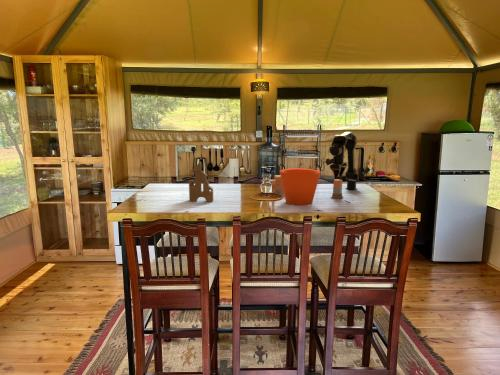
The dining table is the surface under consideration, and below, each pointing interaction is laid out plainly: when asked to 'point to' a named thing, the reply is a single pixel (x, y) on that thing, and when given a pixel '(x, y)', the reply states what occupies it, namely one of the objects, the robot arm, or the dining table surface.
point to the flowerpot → (299, 185)
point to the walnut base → (337, 196)
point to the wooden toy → (196, 189)
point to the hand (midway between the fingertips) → (338, 178)
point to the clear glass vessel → (277, 184)
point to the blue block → (337, 190)
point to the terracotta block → (337, 183)
